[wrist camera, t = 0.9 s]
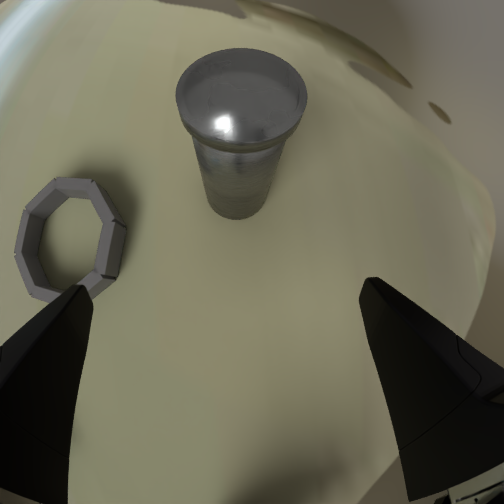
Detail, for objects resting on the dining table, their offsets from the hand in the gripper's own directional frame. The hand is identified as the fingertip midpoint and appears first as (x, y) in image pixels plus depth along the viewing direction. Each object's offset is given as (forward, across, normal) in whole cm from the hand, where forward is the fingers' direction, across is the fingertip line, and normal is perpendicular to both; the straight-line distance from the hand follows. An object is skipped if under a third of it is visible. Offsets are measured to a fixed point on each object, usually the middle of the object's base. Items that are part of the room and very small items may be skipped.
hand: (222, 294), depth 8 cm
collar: (+12, +14, +6) cm, 19 cm away
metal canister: (+15, -1, +3) cm, 15 cm away
